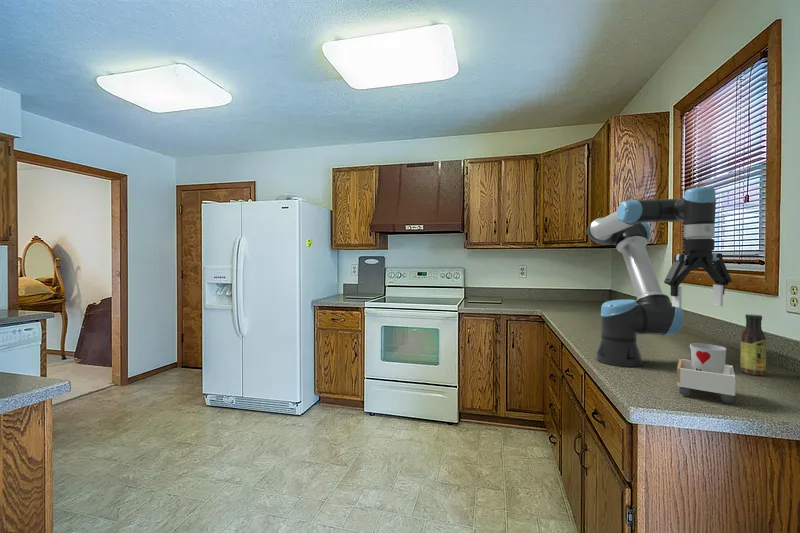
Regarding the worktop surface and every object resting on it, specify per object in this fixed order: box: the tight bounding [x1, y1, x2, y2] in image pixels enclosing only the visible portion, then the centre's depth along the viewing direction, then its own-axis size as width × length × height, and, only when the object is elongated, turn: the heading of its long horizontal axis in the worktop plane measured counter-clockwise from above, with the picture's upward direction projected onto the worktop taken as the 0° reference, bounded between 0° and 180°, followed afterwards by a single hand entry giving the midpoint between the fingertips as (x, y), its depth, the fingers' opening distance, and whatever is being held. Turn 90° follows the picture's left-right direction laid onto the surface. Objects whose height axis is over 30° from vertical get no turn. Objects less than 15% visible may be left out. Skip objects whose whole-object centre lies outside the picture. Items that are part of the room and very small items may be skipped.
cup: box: [689, 342, 727, 374], centre depth 106 cm, size 8×8×10 cm
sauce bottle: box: [739, 313, 767, 376], centre depth 124 cm, size 7×6×20 cm
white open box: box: [676, 358, 736, 404], centre depth 107 cm, size 12×12×8 cm
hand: (697, 306), depth 115 cm, fingers open, 13 cm apart
